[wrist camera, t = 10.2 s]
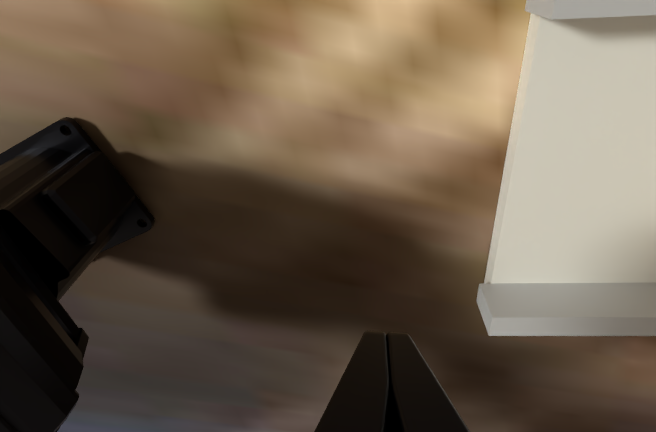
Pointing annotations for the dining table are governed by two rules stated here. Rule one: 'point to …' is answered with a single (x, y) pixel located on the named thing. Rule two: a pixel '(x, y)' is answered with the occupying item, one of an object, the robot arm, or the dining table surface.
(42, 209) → the robot arm
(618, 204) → the box
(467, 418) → the dining table surface
